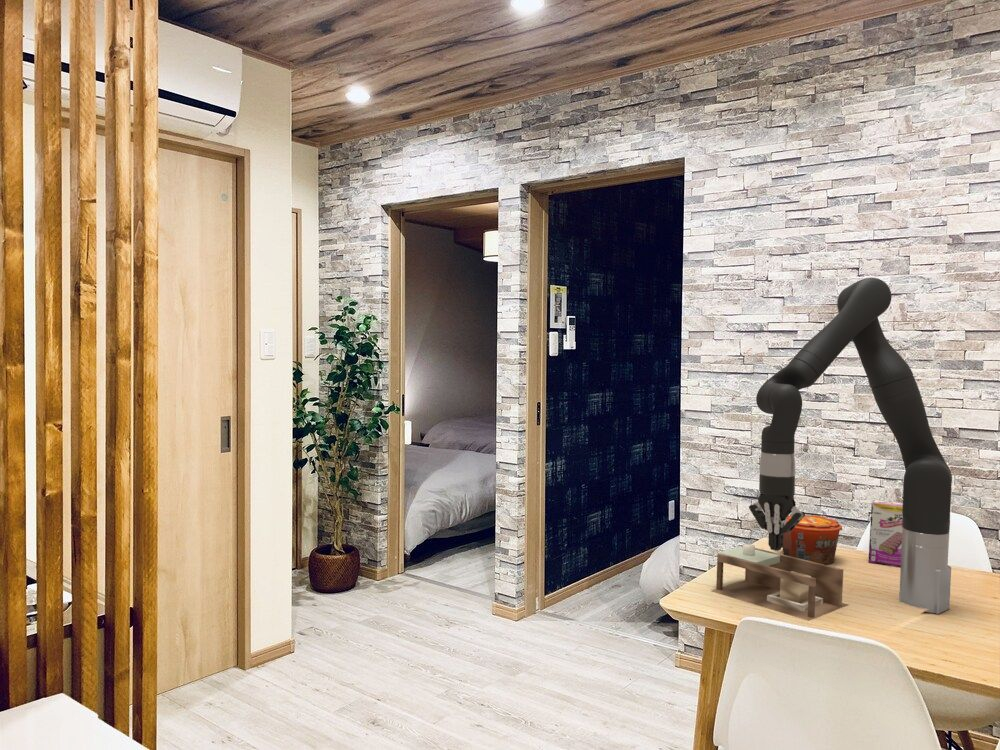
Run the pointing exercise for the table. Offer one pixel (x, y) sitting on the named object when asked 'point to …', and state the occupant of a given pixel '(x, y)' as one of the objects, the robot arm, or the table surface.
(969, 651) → the table surface
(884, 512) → the candy bar box
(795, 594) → the birch block
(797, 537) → the food container
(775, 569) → the brown wooden frame
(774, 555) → the sliding cover
